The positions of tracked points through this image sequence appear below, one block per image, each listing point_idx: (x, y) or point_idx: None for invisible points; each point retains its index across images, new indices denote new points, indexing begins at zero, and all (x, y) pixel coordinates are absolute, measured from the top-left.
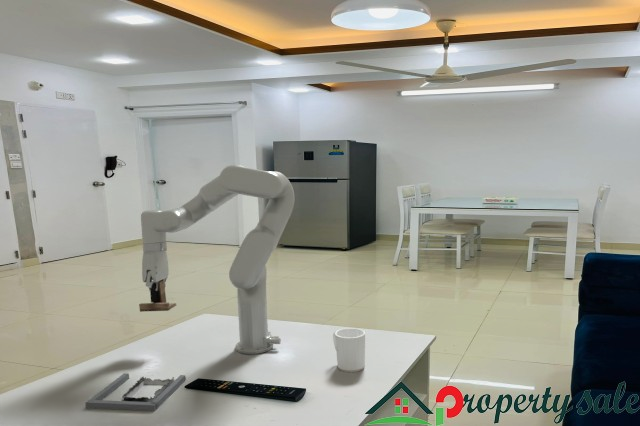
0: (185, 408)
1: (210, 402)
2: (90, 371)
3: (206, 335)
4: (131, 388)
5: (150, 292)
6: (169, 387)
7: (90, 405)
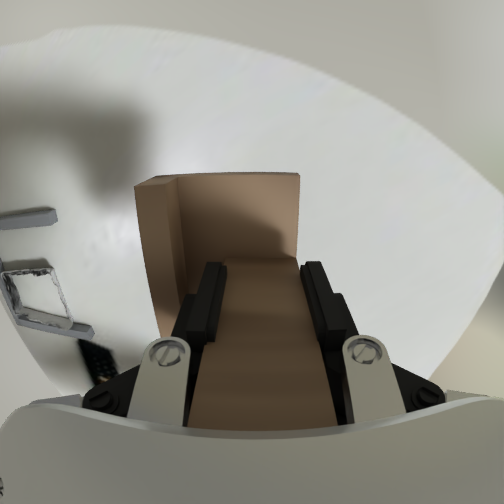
0: (43, 350)
1: (67, 372)
2: (68, 88)
3: (375, 284)
4: (17, 274)
5: (189, 319)
6: (50, 328)
7: None
